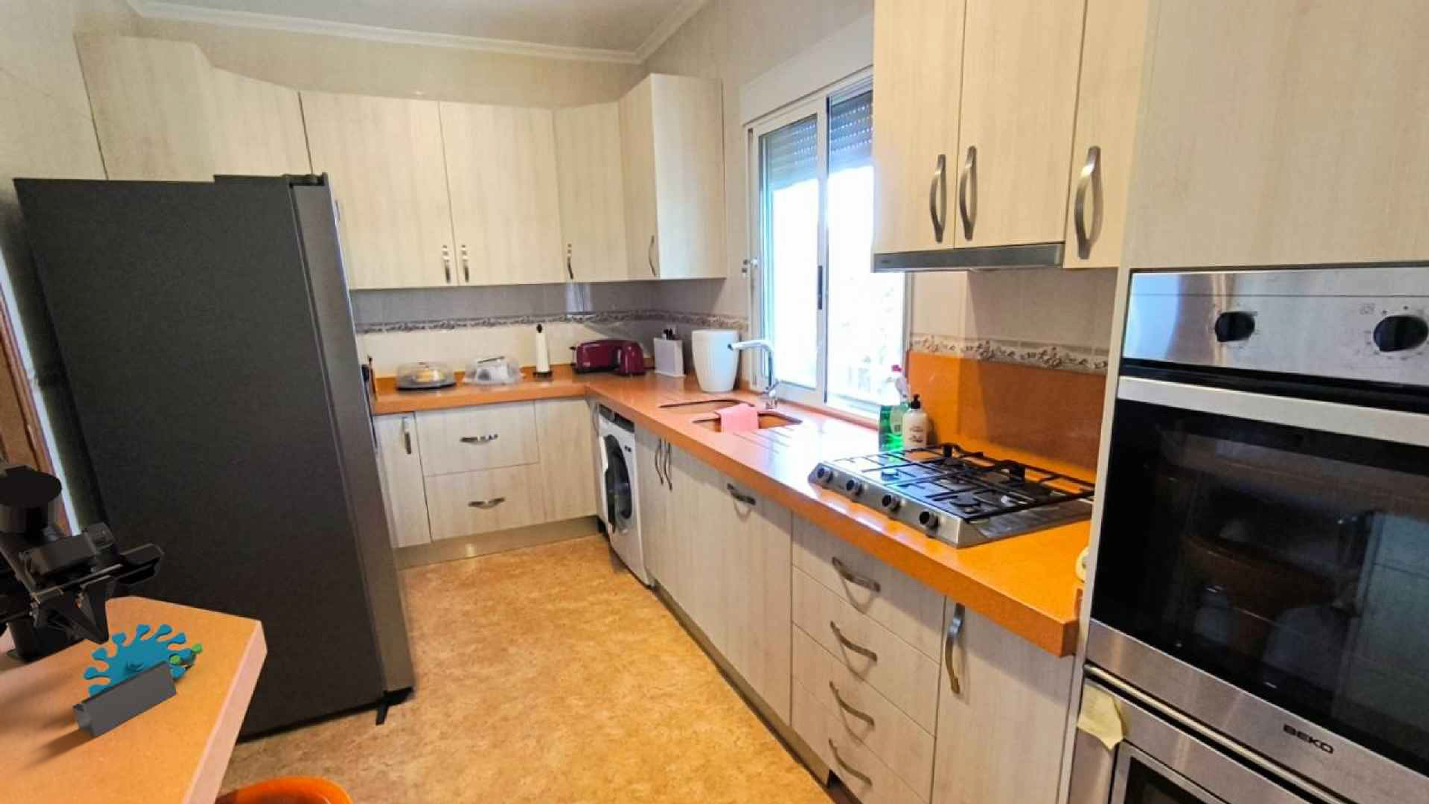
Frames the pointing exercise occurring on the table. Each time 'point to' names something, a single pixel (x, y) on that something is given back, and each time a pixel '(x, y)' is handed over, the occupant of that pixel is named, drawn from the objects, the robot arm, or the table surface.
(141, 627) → the gear
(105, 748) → the table surface
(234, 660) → the table surface
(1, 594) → the robot arm
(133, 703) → the bay frame
